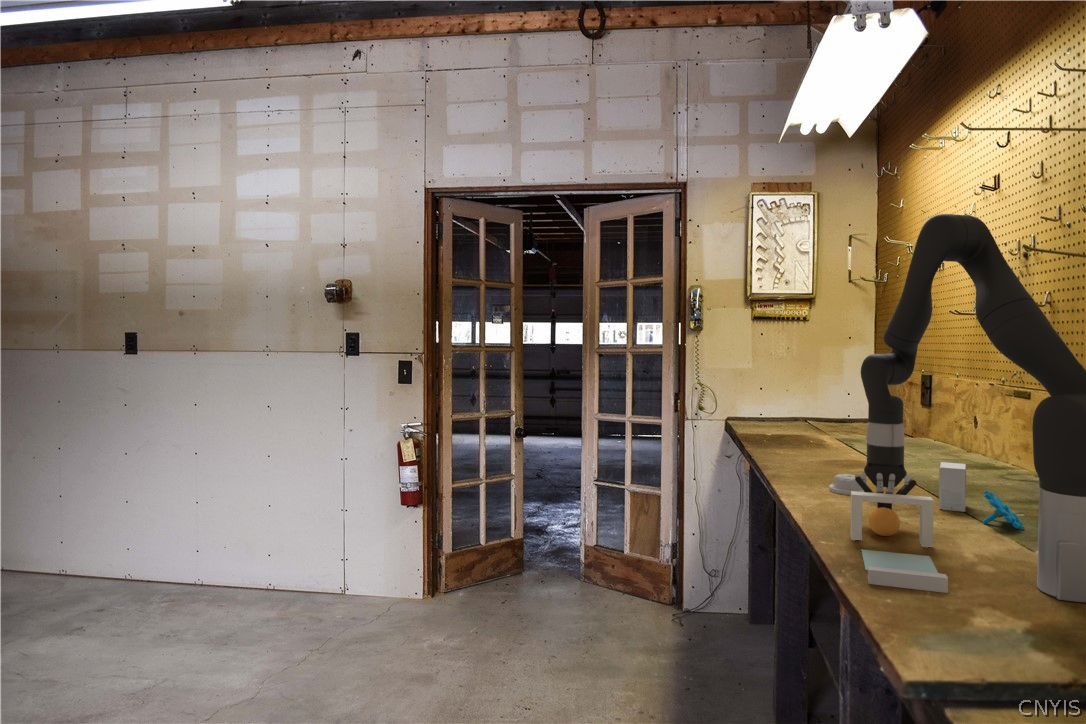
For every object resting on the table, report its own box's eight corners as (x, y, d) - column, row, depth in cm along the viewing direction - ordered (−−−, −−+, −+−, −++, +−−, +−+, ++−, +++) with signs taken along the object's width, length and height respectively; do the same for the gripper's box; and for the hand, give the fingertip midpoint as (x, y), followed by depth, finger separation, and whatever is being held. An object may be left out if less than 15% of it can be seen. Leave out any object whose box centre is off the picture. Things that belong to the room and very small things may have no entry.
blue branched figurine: (1022, 527, 143) (984, 489, 149) (997, 543, 146) (961, 505, 151) (1030, 523, 151) (994, 487, 157) (1007, 538, 154) (973, 502, 159)
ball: (900, 503, 144) (901, 525, 146) (869, 500, 147) (870, 521, 149) (898, 522, 139) (899, 544, 142) (866, 518, 142) (867, 539, 145)
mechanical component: (876, 496, 179) (858, 487, 189) (876, 479, 179) (858, 472, 189) (839, 497, 179) (822, 488, 189) (839, 480, 179) (823, 472, 189)
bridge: (932, 547, 136) (933, 500, 136) (851, 540, 142) (851, 494, 141) (930, 543, 139) (931, 496, 138) (850, 536, 144) (850, 491, 144)
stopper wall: (947, 593, 113) (948, 578, 113) (868, 583, 117) (868, 569, 117) (945, 588, 115) (945, 574, 115) (867, 579, 119) (867, 565, 119)
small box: (965, 512, 161) (966, 469, 161) (938, 509, 164) (938, 467, 164) (965, 505, 168) (966, 463, 168) (939, 502, 171) (940, 461, 171)
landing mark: (940, 578, 119) (940, 577, 119) (865, 570, 124) (865, 569, 124) (929, 557, 130) (929, 556, 130) (861, 550, 135) (861, 549, 135)
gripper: (853, 443, 150) (853, 520, 151) (921, 446, 145) (920, 525, 146) (852, 438, 157) (851, 511, 158) (916, 441, 152) (915, 516, 153)
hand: (884, 518), depth 152 cm, fingers closed
